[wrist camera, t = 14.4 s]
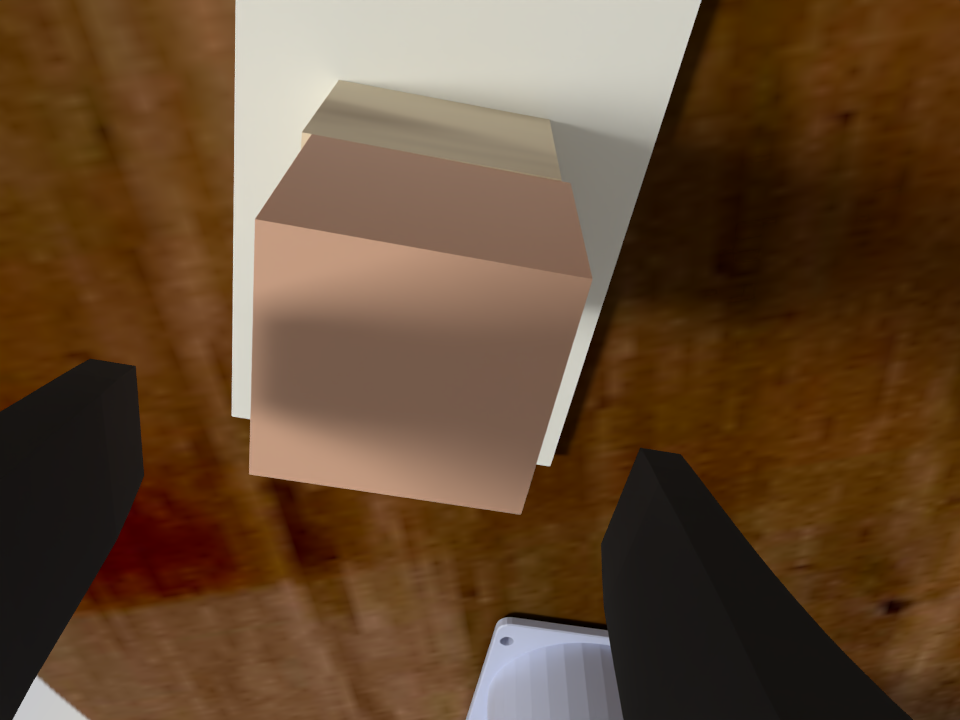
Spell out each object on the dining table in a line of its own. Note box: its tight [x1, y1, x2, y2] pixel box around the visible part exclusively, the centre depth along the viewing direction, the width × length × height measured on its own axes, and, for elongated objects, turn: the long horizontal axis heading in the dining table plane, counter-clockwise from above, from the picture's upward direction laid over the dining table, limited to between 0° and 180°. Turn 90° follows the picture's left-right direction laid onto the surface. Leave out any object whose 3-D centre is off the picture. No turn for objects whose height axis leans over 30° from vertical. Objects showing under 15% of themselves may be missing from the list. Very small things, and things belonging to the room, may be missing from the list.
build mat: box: [232, 0, 701, 466], centre depth 19 cm, size 16×10×1 cm, turn 169°
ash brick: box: [301, 80, 562, 181], centre depth 17 cm, size 5×5×4 cm
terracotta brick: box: [249, 134, 593, 515], centre depth 14 cm, size 5×5×4 cm
